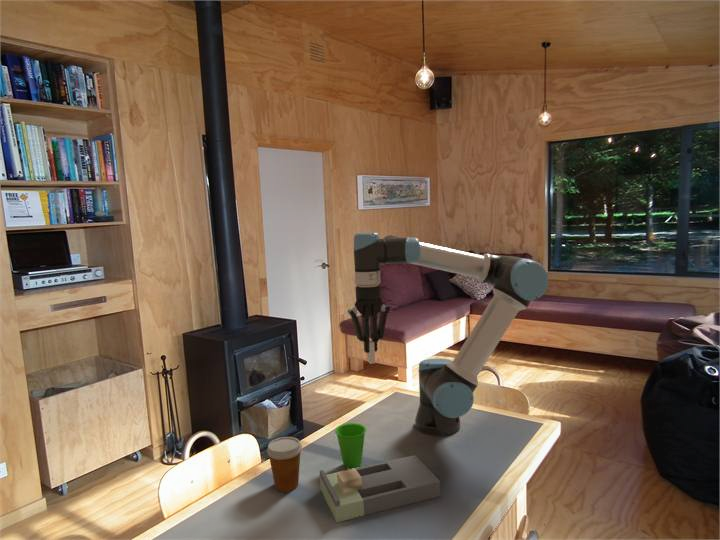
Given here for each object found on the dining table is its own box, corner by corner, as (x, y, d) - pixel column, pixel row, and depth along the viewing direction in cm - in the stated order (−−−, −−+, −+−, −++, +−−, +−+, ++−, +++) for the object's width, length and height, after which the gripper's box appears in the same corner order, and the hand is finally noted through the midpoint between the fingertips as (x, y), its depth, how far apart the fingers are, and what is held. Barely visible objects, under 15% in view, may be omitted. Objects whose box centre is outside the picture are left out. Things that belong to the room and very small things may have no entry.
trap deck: (415, 468, 142) (414, 450, 142) (440, 495, 128) (440, 475, 128) (320, 490, 133) (319, 470, 133) (336, 522, 119) (335, 501, 119)
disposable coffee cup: (289, 499, 130) (286, 455, 128) (261, 489, 135) (258, 447, 133) (311, 481, 138) (308, 440, 136) (284, 473, 143) (282, 433, 141)
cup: (364, 474, 140) (363, 437, 139) (333, 472, 142) (331, 435, 141) (370, 458, 149) (368, 423, 148) (341, 456, 151) (339, 422, 150)
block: (355, 478, 131) (355, 468, 130) (362, 488, 126) (361, 477, 126) (337, 483, 129) (336, 472, 129) (343, 493, 124) (342, 481, 124)
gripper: (351, 288, 141) (354, 369, 144) (393, 284, 146) (396, 362, 148) (343, 285, 148) (346, 362, 151) (383, 281, 153) (386, 356, 155)
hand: (371, 362), depth 150 cm, fingers closed
